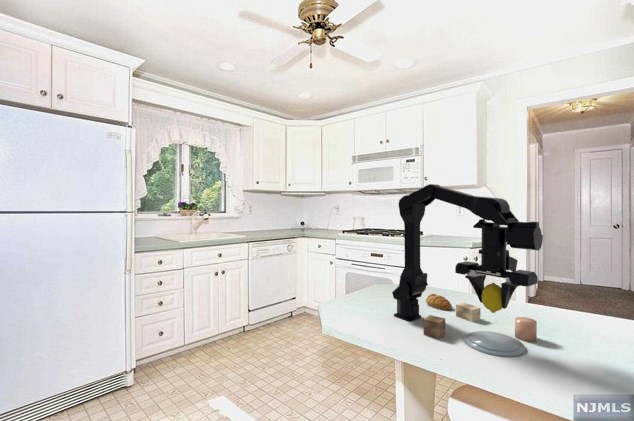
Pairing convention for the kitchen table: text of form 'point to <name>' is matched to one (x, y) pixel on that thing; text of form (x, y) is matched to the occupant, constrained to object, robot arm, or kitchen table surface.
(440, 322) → the walnut block
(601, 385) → the kitchen table surface
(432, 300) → the pastry
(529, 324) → the pink cylinder
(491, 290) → the lemon
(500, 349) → the plate
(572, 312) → the kitchen table surface
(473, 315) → the beech block
